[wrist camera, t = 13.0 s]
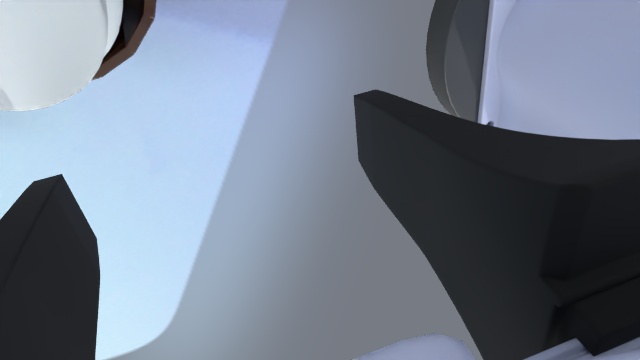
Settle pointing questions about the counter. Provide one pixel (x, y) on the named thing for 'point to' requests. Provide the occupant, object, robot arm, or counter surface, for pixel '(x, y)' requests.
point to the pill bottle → (52, 48)
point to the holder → (128, 34)
